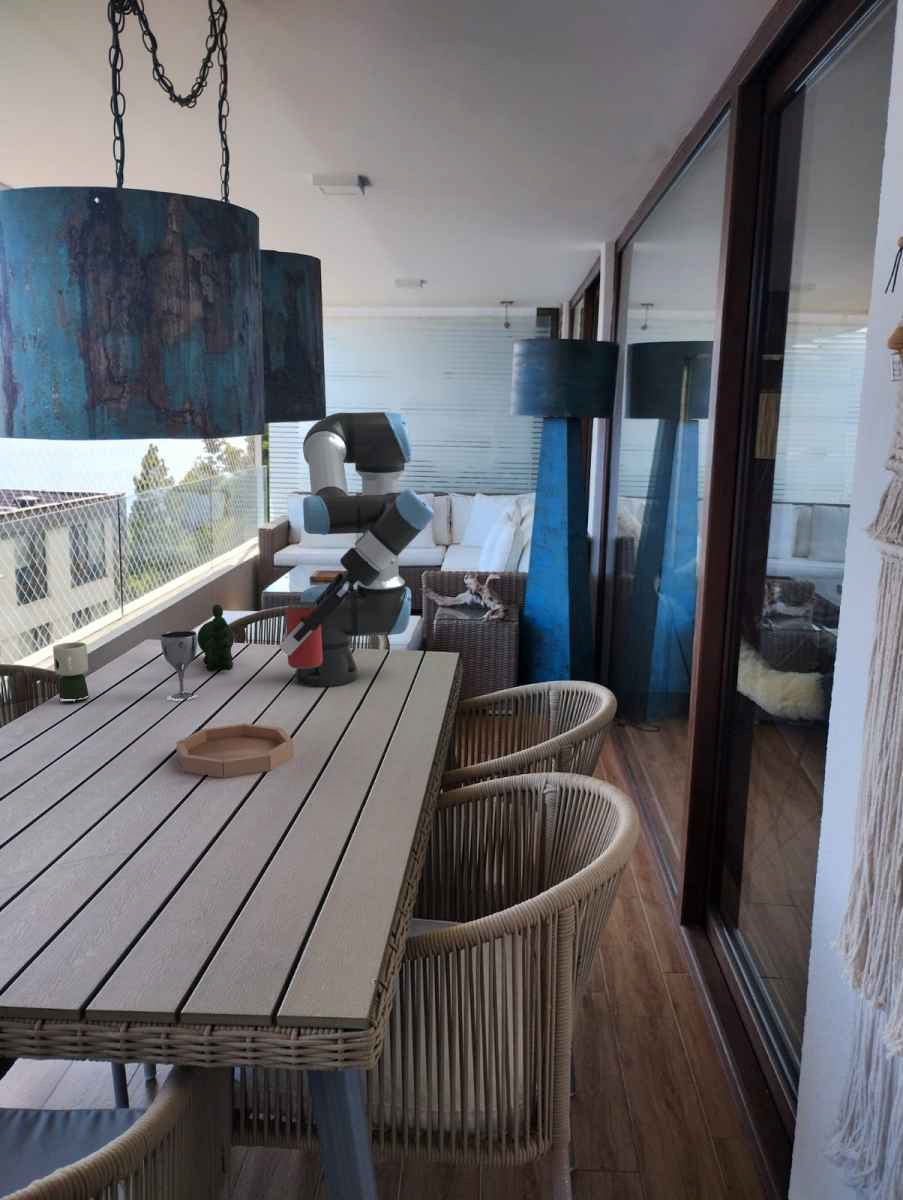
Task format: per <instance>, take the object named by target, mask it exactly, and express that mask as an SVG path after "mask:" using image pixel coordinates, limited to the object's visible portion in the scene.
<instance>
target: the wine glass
mask: <svg viewBox="0 0 903 1200" xmlns="http://www.w3.org/2000/svg"><path fill="white" fill-rule="evenodd" d="M197 635H198V633H197V632H196V631H195V630H188V629H185V630H183V629H181V630H179V629H178V630H170V631H166V632H162V633H160V644H161V650H162V654H163V657H164V659H165V661H166V662H167V663H168V664H169V665H170V666H171V667H172V668H174V670H175V672H176V673H177V676H178V681H179V692H178V693H177V692H176V693H177V694H176V693H172V694H173V695H172V694H171V695H172V696H171V697H172V698H175V699H176V698H177V699H179V698H180V699H181V698H183V699H186V698H189V697H192V696H194V694H192V693H193V692H185V691H184V690H185V688H184V677H185V672H186V670H187V668H188V666H190V664H191V663H192V662H193V660H194V658H195V656H196V652H197V647H198V646H197V645H198V640H197Z"/></svg>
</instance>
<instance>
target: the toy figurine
mask: <svg viewBox="0 0 903 1200" xmlns="http://www.w3.org/2000/svg"><path fill="white" fill-rule="evenodd" d="M211 609H212V611H211V612H212V616H213V617H214V618H213V619H212V620H209V621H207V622H206V623H204V624H203V625H201V627H200V628H199V630H198V632H197V645H198V646H199V648H200V650H201V651H202V652H203V653H204V657H203V660H202V662H203V664H204V665H205V668H206V670H207V671H208V670H211V671H210V672H214V671H216V670H217V669H218V670H219V669H221V670H223V669H225V670H228V671H229V670H231V669H232V668H233V667H234V663H233V659H234V658H233V656H232V647H233V646H234V644H235V643H234V641H235V635H234V631H233V628H232V627H231V626H230V625H229V624H228V623H227V621H226V618H225V617H223V614H224V609H223V607H222V605H220V604H218V603H217V604H214V605H213V606H212V608H211Z"/></svg>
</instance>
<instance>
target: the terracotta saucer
mask: <svg viewBox="0 0 903 1200" xmlns="http://www.w3.org/2000/svg"><path fill="white" fill-rule="evenodd" d="M175 745H176V759H177V758H178V759H177V760H179V761H178V762H180V763H179V764H181V765H180V767H181V766H182V767H181V769H182V768H183V769H182V772H184V771H185V772H190V773H189V774H192V773H196V774H195V775H198V774H203V775H202V776H205V775H208V776H207V777H212V776H214V777H213V778H218V777H219V778H220V779H227V777H229V778H235V777H240V776H247V775H254V774H260V773H266V772H270V771H271V772H272V771H273V770H274V769H276V768H277V767H279V766H280V765H282V764H283V763H285V762H287V761H289V760H291V758H293V757H294V740H293V739H292V738H291V737H290V736H289V734H288V733H287V732H286V731H285V729H283V727H277V726H270V725H261V724H253V723H252V724H251V723H238V724H232V725H223V726H216V727H210V728H209V727H208V728H202V729H200V730H198V731H196V732H194V733H192V734H191V735H188V736H186V737H184V738H183V739H180V740H179V741H177V742H176V743H175ZM185 772H184V773H185ZM234 776H235V777H234Z"/></svg>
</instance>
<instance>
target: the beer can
mask: <svg viewBox="0 0 903 1200" xmlns="http://www.w3.org/2000/svg"><path fill="white" fill-rule="evenodd" d="M316 606H317V603H314V602H301V601H298V602H291V603H289V604H288V605H287V609H286V613H285V629H286V632H285V633H287V636H288V635H289V634H290V633H291V632H292V631H293V630H294V629H295V628H296V627H297V626H298V625H299V624H300V623H301V622H302V621H301V620H300V619H301V618H302V617H303V618H304V619H306V618H307V617H308V616H309V614H310V613H311V612H312V611H313V610H314V609H315V608H316ZM313 621H314V620H313ZM314 622H315V621H314ZM315 623H316V622H315ZM322 662H323V657H322V636H321V625H320V626H319V627H318V629H317V630H315V631H314V630H313V631H312V633H311V634H310V635H309V636H308V637H307V638H306V639H305V640H304V641H303V642H302V643H301V644H300V645H299V646H298V647H297V648H296V650H295V651H294V652H293V653H292V654H291V655H290V656H289V655H288V654H287V664H288V666H290V668H293V669H295V670H296V669H310V668H315V667H318V666H320V665H321V664H322Z"/></svg>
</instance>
